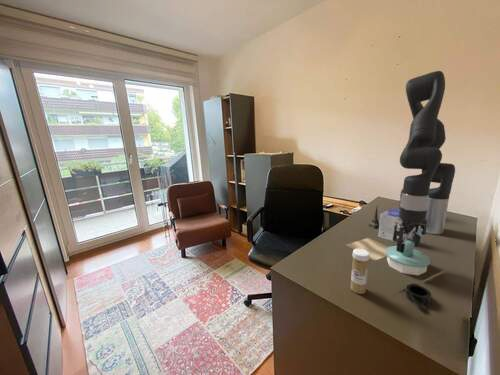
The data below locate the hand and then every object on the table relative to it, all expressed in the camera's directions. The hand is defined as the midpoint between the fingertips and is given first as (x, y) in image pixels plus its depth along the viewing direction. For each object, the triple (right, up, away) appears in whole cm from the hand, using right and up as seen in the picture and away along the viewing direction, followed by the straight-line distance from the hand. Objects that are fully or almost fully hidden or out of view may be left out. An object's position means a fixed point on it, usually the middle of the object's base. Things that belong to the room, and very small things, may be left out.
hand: (407, 249), depth 77 cm
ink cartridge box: (+9, -2, +22) cm, 24 cm away
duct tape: (-7, -11, -13) cm, 19 cm away
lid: (0, -3, +1) cm, 3 cm away
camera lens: (+35, +6, +49) cm, 60 cm away
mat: (-5, -4, +14) cm, 16 cm away
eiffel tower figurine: (+8, 0, +34) cm, 35 cm away
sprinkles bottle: (-22, -11, -8) cm, 26 cm away
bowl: (0, -7, +2) cm, 7 cm away
